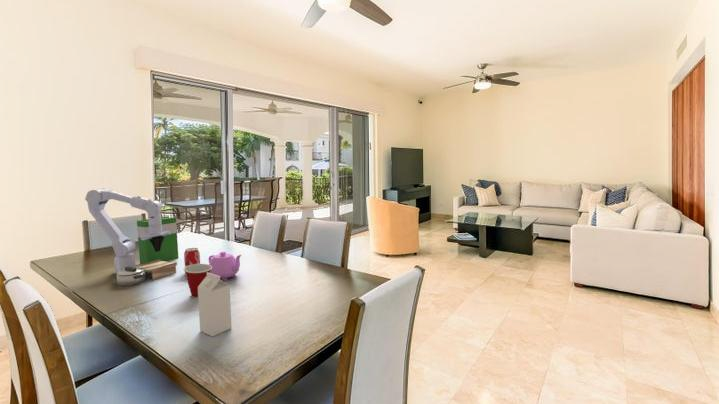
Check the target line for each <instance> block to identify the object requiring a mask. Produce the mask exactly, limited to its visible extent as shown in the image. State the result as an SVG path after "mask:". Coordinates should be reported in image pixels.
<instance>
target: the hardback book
mask: <svg viewBox="0 0 719 404" xmlns="http://www.w3.org/2000/svg"><path fill="white" fill-rule="evenodd" d="M161 221H162V232H163V231H170V233H171V234H170V235H165V236H162V237H164V240H163V242H162V245H161V249H160V251H159V252H156V251H155V249H154V247H153V245H152V243H151V242H150V241H149V239H146V240H141V236H144V235H147V234H149V223H148V218H146V219H139V220H136V227H137V229H136V230H137V241H138V243H137V244H138V256H139V265H141V264H145V263H148V262H152V261H156V260H159V259H160V260H161V261H165V262H170V261H173V260H177V259H179V244H178V229H177V217H176V216H174V217H170V216H161Z"/></svg>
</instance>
